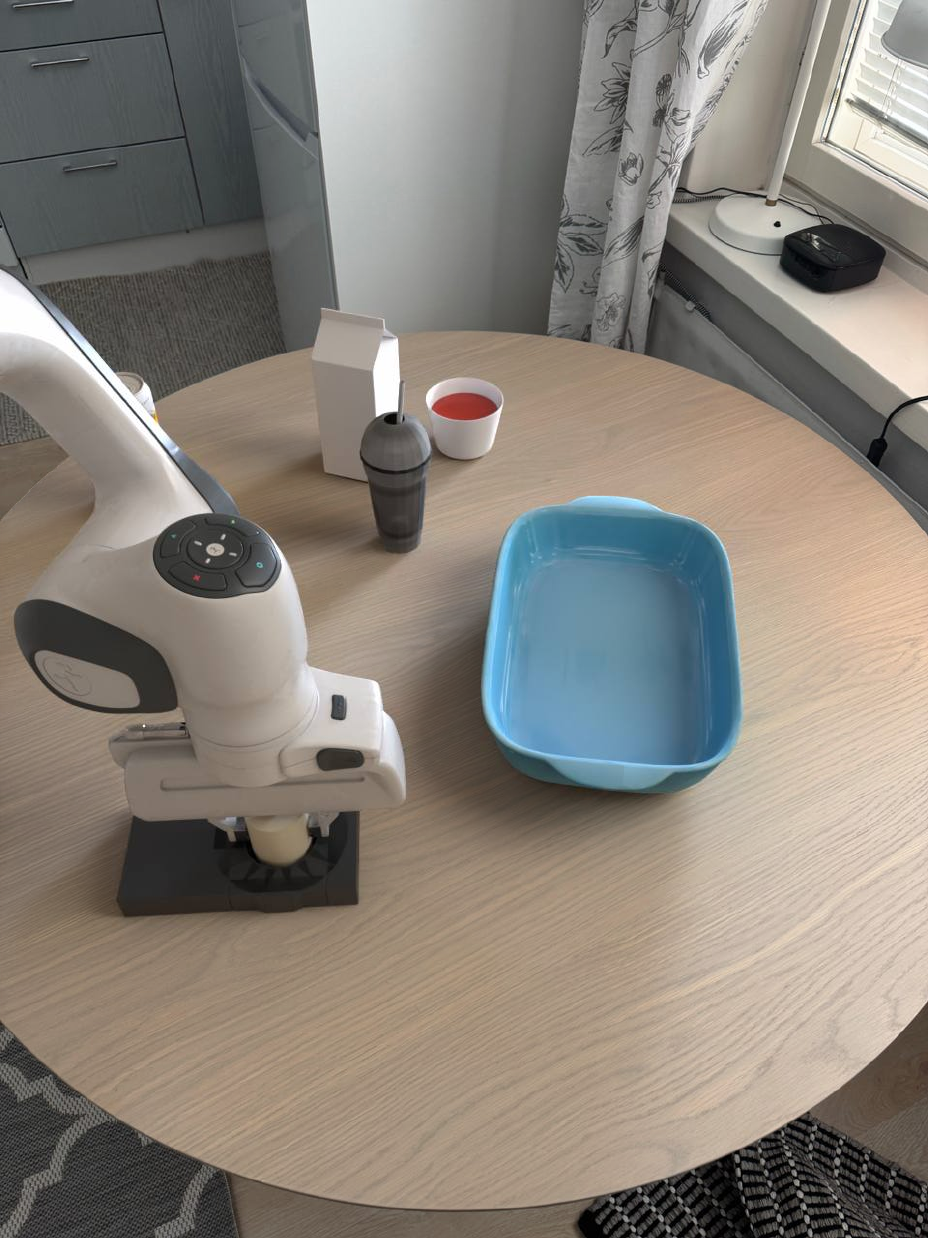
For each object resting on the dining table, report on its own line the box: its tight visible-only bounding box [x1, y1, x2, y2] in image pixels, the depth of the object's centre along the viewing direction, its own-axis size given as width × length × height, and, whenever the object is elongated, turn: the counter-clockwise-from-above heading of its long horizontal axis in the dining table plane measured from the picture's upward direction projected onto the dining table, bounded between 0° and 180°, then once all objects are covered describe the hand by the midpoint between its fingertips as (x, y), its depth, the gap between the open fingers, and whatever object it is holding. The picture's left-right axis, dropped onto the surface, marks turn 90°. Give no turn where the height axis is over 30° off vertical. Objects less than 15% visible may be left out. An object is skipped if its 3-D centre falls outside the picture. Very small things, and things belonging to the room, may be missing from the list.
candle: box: [425, 377, 504, 460], centre depth 118 cm, size 9×9×6 cm
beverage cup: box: [359, 379, 433, 554], centre depth 100 cm, size 7×7×20 cm
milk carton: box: [310, 307, 401, 483], centre depth 110 cm, size 7×7×19 cm
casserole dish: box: [480, 495, 744, 794], centre depth 92 cm, size 37×22×7 cm, turn 173°
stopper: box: [244, 813, 315, 868], centre depth 77 cm, size 5×5×7 cm
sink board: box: [116, 811, 361, 918], centre depth 80 cm, size 18×11×2 cm, turn 94°
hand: (280, 831), depth 78 cm, fingers closed on stopper, 5 cm apart
